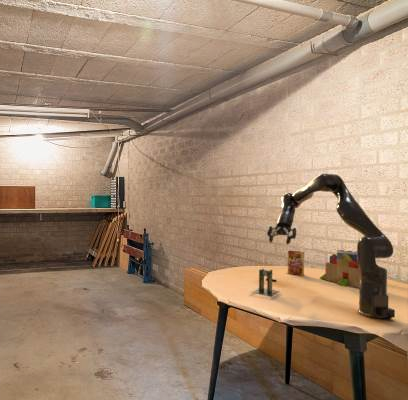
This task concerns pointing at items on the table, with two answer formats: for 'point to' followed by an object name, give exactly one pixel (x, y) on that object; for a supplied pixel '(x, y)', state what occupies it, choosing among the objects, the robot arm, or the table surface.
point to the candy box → (296, 262)
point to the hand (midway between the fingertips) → (278, 242)
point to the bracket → (269, 284)
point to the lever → (266, 275)
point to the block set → (343, 269)
